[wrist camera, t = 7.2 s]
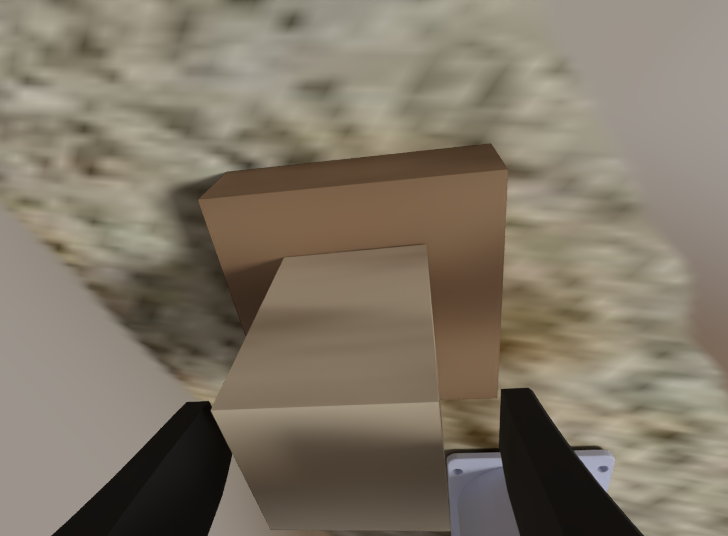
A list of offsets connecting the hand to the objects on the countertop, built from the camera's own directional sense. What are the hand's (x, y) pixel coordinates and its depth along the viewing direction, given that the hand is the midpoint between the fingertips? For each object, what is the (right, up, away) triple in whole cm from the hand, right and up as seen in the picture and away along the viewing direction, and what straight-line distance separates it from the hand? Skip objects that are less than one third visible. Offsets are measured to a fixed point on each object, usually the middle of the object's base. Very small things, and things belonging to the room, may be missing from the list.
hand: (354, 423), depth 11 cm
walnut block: (0, +4, +6) cm, 8 cm away
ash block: (0, +2, +4) cm, 5 cm away
